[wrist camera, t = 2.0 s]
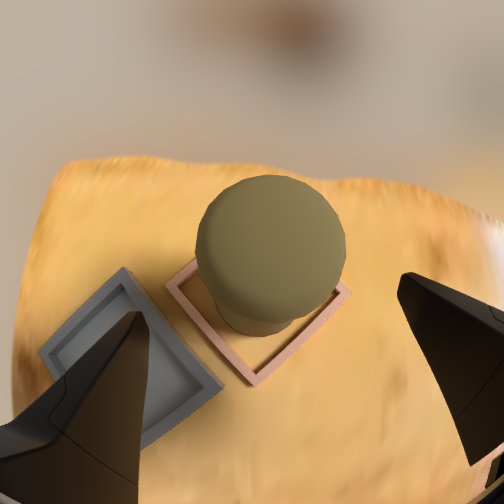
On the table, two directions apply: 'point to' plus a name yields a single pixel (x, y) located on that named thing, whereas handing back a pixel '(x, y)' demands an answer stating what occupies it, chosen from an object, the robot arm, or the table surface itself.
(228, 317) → the cork
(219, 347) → the frame
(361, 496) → the table surface
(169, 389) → the lower port socket
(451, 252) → the table surface
